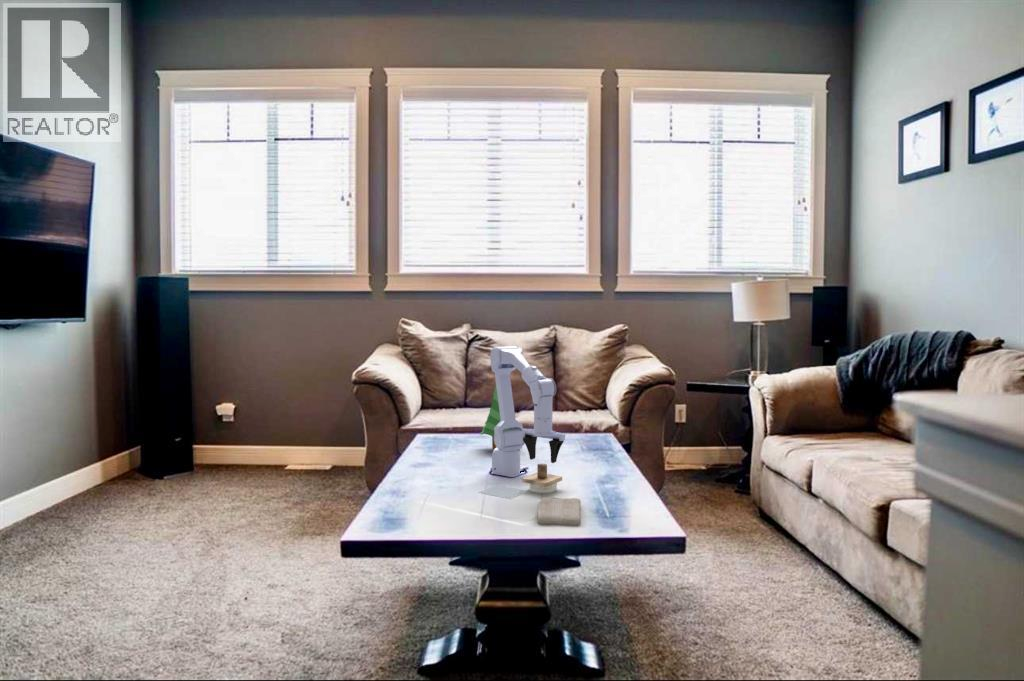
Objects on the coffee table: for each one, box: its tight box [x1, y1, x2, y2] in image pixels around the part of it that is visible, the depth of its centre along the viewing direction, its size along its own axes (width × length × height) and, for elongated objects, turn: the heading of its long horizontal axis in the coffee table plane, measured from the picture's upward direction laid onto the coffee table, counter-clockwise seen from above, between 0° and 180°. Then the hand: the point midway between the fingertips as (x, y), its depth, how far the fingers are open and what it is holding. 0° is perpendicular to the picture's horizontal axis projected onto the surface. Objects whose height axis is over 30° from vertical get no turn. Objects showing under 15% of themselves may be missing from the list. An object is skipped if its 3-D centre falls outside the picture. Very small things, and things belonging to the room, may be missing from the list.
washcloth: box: [537, 496, 582, 526], centre depth 180 cm, size 12×18×3 cm, turn 175°
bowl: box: [529, 482, 558, 494], centre depth 201 cm, size 8×8×3 cm
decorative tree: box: [479, 385, 513, 451], centre depth 255 cm, size 14×16×30 cm
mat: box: [478, 484, 529, 500], centre depth 198 cm, size 12×10×1 cm
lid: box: [521, 463, 563, 487], centre depth 200 cm, size 9×9×5 cm
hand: (543, 460), depth 200 cm, fingers open, 7 cm apart
